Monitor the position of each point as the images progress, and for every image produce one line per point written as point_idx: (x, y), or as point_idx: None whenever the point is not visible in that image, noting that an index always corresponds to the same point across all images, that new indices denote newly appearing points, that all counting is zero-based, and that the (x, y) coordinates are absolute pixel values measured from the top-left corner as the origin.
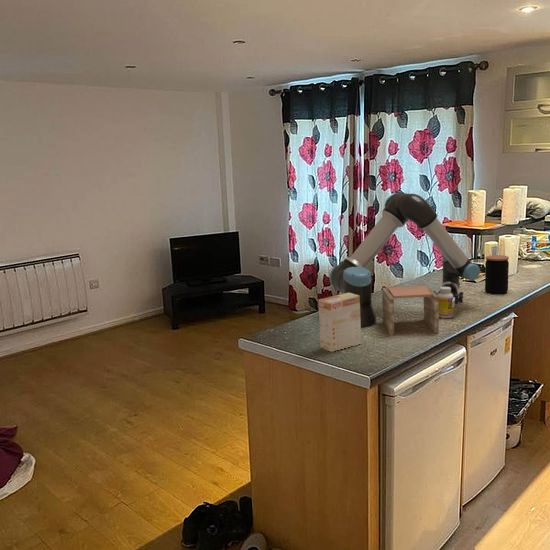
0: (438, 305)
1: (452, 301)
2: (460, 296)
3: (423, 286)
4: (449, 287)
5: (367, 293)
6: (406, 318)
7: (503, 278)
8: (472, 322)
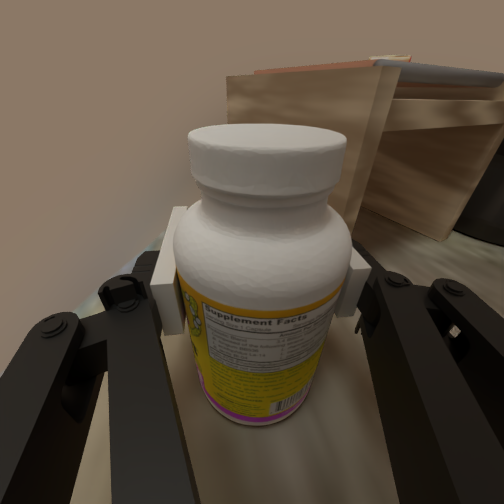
0: (227, 113)
1: (185, 208)
2: (41, 369)
3: (363, 61)
4: (211, 138)
5: None
6: (415, 281)
7: None
8: (92, 302)
